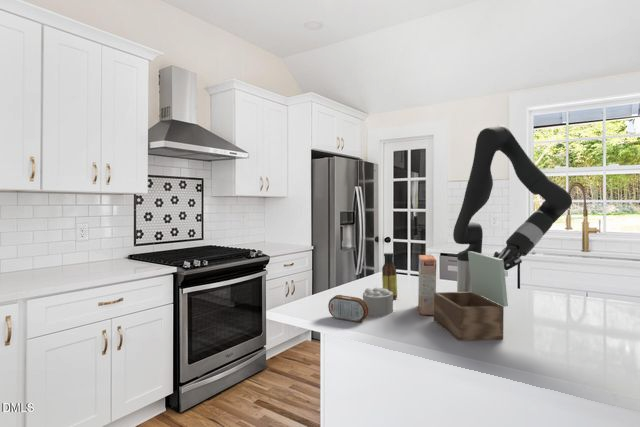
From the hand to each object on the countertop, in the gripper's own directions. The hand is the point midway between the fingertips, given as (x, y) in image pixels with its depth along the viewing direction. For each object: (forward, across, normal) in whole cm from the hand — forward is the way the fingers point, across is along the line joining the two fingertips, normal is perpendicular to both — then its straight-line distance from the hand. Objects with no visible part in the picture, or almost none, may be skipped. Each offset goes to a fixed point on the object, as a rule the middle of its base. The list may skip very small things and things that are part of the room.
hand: (490, 276), depth 127 cm
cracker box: (+21, -24, +3) cm, 32 cm away
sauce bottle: (+27, -44, -3) cm, 51 cm away
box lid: (+1, 0, -1) cm, 2 cm away
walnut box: (+18, -1, +7) cm, 19 cm away
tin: (+44, -16, -20) cm, 51 cm away
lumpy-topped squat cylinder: (+35, -24, -10) cm, 44 cm away
